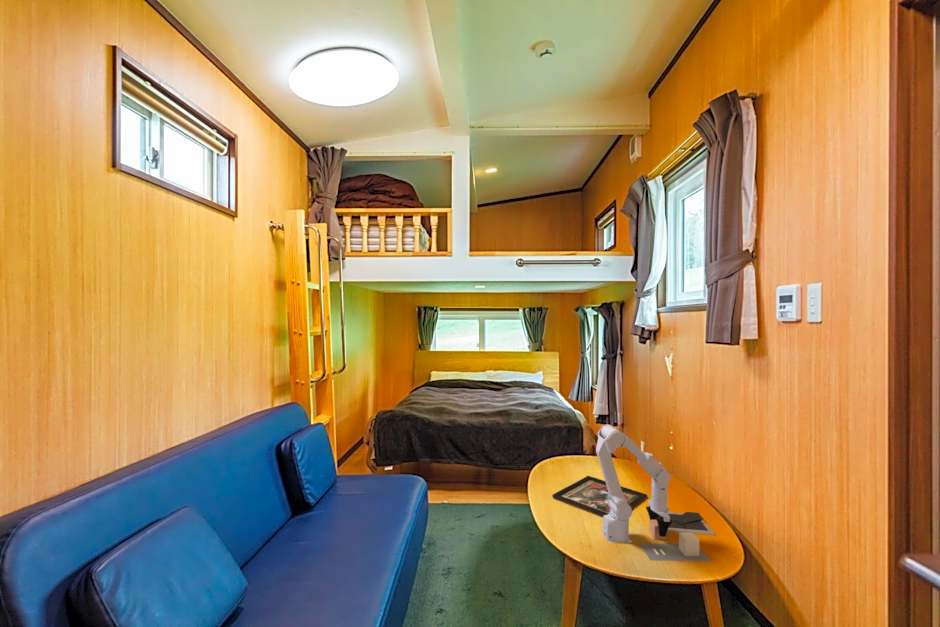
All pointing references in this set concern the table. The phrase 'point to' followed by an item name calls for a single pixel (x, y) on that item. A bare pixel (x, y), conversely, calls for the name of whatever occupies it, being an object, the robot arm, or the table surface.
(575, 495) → the framed painting
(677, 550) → the grey board
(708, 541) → the table surface
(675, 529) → the picture frame
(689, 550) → the tan block
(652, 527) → the terracotta block
